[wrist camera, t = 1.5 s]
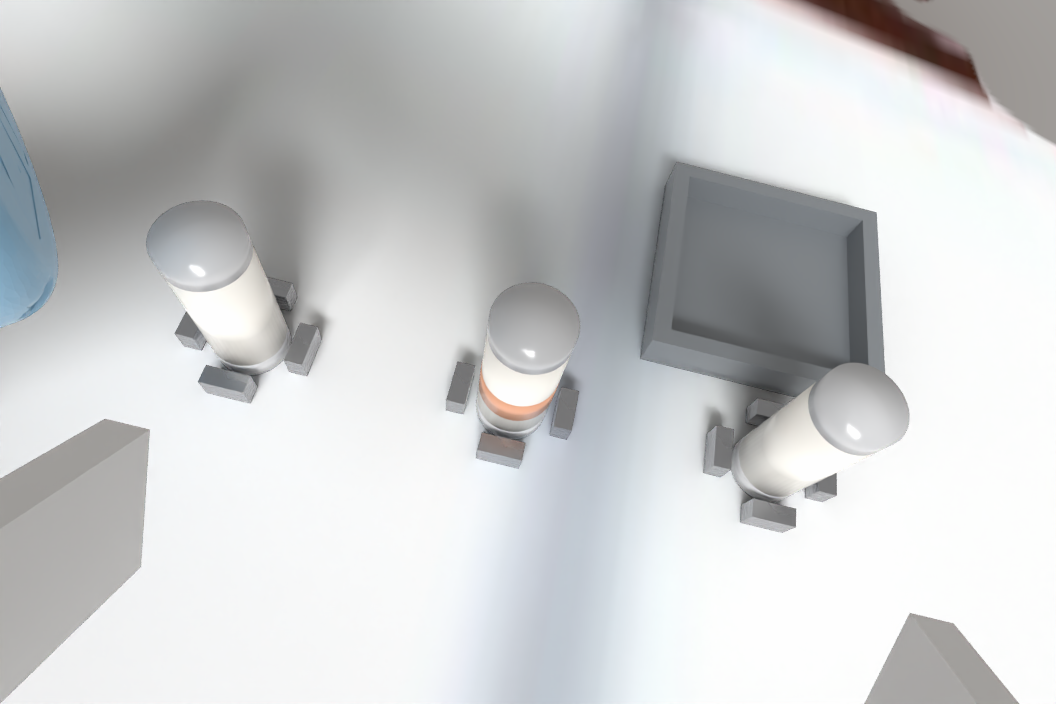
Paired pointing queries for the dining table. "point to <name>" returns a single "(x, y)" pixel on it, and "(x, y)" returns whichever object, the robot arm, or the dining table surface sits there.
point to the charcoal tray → (762, 283)
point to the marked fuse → (524, 357)
